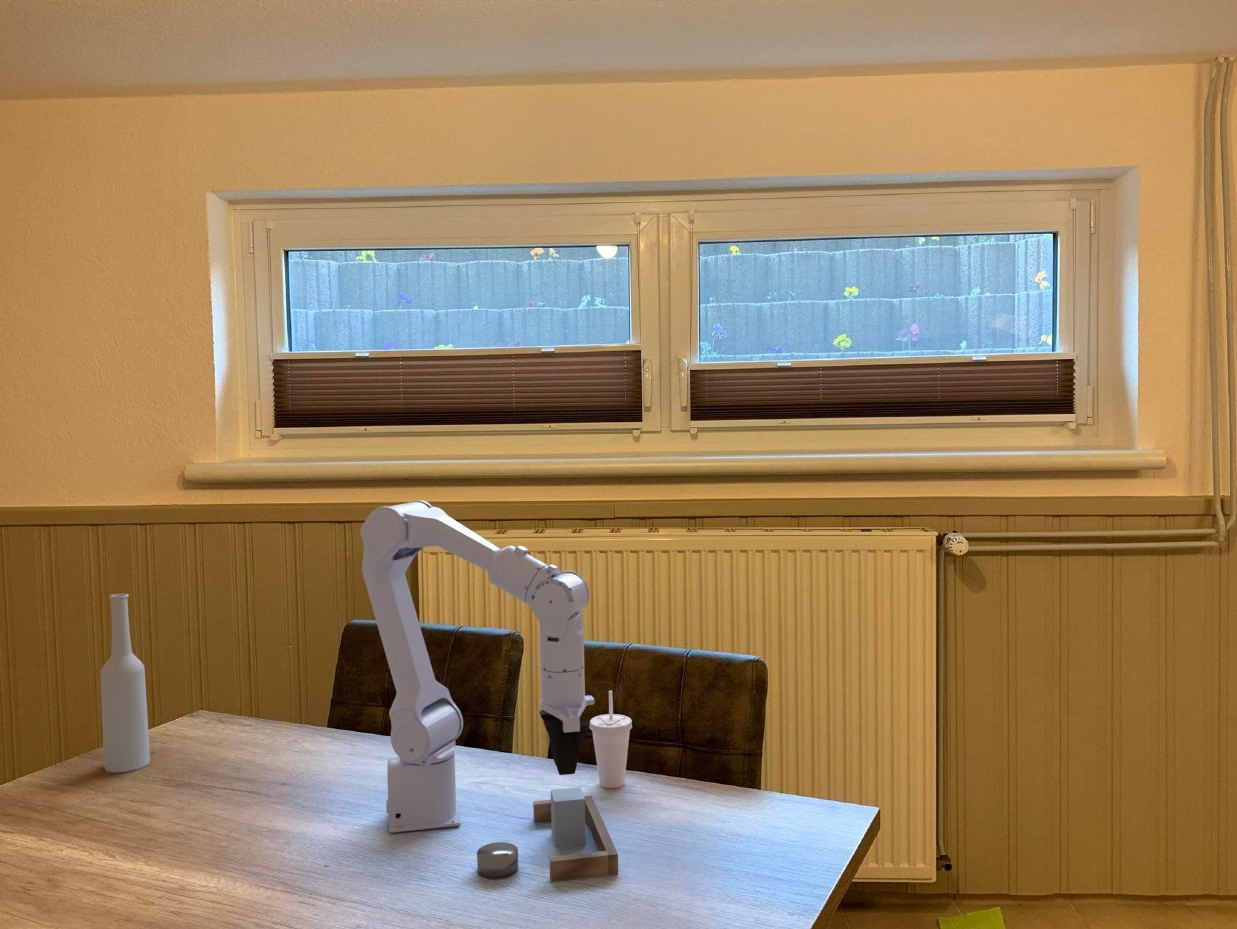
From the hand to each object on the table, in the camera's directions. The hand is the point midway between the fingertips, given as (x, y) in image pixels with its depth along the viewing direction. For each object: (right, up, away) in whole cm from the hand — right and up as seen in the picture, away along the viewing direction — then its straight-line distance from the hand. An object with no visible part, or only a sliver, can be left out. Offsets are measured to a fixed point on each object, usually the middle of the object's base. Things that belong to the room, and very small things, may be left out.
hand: (564, 768), depth 128 cm
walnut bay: (+1, -10, -1) cm, 10 cm away
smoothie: (+6, -8, +19) cm, 22 cm away
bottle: (-73, -9, +31) cm, 79 cm away
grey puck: (-8, -10, -8) cm, 15 cm away
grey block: (0, -9, +1) cm, 10 cm away
